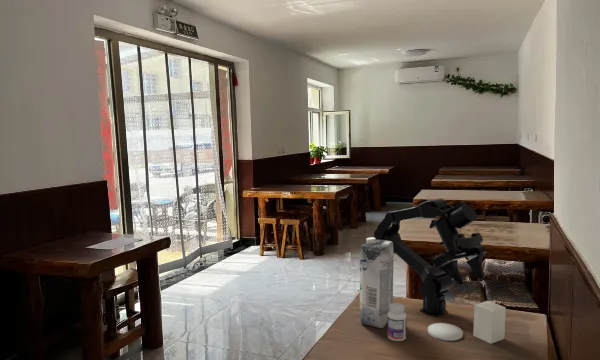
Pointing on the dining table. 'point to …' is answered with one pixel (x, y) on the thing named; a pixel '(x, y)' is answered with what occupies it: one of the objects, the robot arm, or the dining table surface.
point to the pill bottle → (397, 322)
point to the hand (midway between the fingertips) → (472, 282)
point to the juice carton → (376, 281)
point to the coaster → (445, 332)
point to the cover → (489, 321)
